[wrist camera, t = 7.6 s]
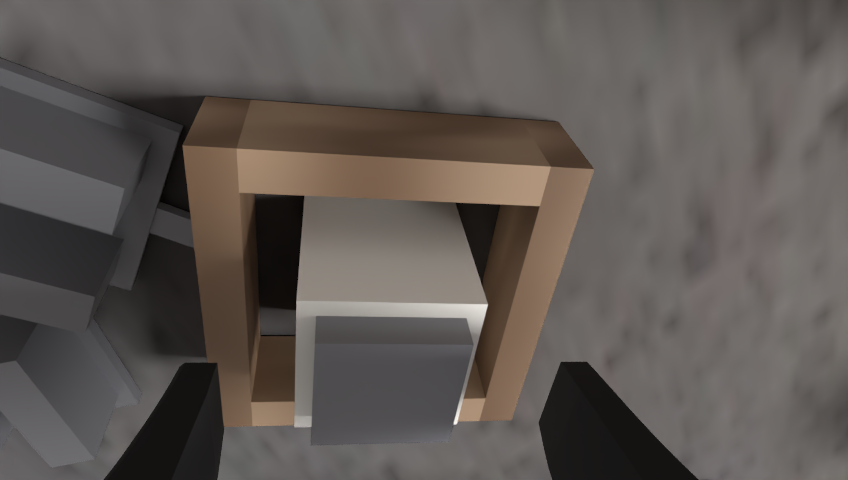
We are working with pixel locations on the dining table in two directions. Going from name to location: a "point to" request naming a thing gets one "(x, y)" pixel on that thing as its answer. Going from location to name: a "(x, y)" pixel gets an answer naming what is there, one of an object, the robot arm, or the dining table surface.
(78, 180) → the clip
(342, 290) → the white boxy piece
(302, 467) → the dining table surface
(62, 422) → the clip
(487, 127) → the frame
